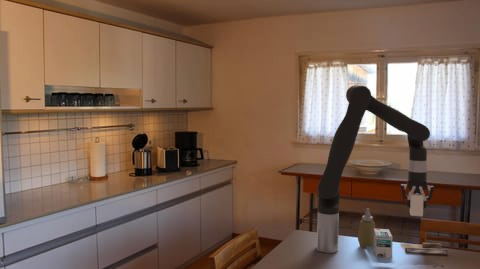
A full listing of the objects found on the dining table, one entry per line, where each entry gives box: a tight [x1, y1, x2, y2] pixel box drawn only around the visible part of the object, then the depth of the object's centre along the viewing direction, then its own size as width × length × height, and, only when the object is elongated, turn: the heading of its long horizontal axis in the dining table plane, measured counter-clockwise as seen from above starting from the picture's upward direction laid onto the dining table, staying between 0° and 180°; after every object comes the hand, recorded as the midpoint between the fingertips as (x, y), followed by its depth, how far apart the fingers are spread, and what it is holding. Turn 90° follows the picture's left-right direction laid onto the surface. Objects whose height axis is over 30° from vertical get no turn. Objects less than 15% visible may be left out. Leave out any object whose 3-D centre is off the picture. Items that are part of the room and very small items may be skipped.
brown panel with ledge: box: [399, 242, 448, 255], centre depth 192 cm, size 17×12×4 cm
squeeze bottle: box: [357, 207, 376, 250], centre depth 198 cm, size 8×8×18 cm
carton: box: [409, 193, 424, 217], centre depth 191 cm, size 5×8×9 cm, turn 161°
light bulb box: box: [373, 227, 393, 259], centre depth 186 cm, size 11×7×11 cm, turn 168°
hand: (416, 208), depth 191 cm, fingers closed on carton, 5 cm apart
